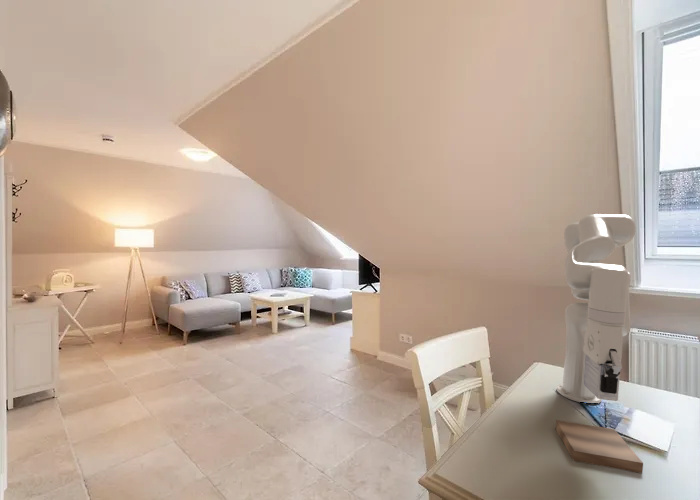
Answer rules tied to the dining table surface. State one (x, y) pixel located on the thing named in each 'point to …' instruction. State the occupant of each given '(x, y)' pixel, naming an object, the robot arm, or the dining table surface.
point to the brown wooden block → (598, 446)
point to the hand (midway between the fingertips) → (600, 384)
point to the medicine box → (597, 380)
